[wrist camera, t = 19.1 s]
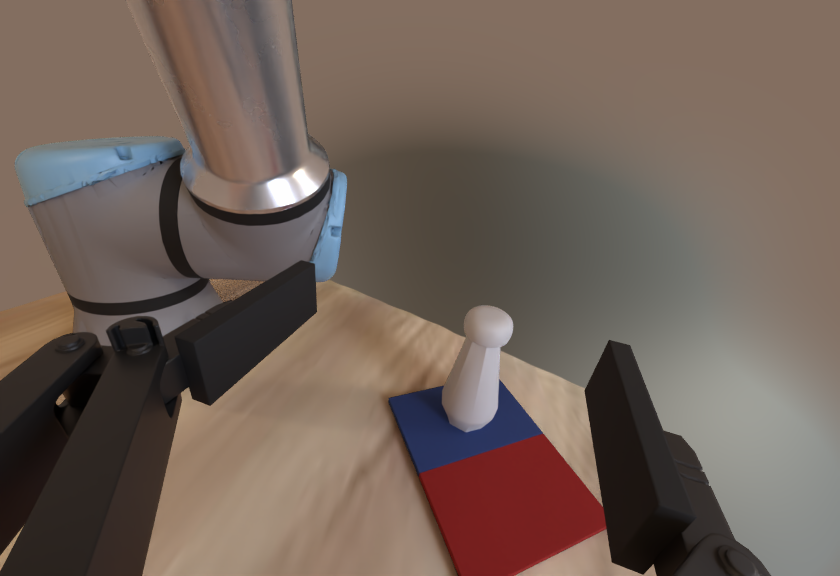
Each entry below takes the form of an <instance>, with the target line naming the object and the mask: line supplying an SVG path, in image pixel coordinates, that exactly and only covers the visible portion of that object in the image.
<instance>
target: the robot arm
mask: <svg viewBox="0 0 840 576" xmlns="http://www.w3.org/2000/svg"><path fill="white" fill-rule="evenodd" d="M126 2H127V5H128V7H129V9H130V11H131V14H132V16H133V18H134V20H135V23H136V25H137V27H138V29H139V31H140V34H141V36H142V38H143V40H144V43H145V45H146V47H147V49H148V52H149V54H150V56H151V58H152V60H153V63H154V65H155V67H156V69H157V72H158V74H159V76H160V78H161V80H162V83H163V85H164V87H165V89H166V92H167V94H168V96H169V98H170V101H171V103H172V105H173V108H174V110H175V112H176V114H177V117H178V119H179V121H180V123H181V125H182V128H183V130H184V132H185V134H186V137H187V139H188V141H189V143H190V146H189V147H188V148H187V149H186V151H185V149H184V148H183V146H182V144H181V143H180V141H179V140H177V139H175V138H173V137H172V138H168V137H160V136H154V137H153V136H149V137H148V136H145V137H122V138H121V137H119V138H103V139H90V140H78V141H68V142H59V143H51V144H45V145H40V146H35V147H31V148H28V149H26V150H24V151H23V152H21V153H20V154H19V155H18V157H17V159H16V160H15V170H16V173H17V176H18V179H19V182H20V185H21V187H22V190H23V193H24V196H25V200H24V204H25V205H26V207H28V210H29V212H30V214H31V216H32V218H33V220H34V222H35V224H36V227H37V229H38V231H39V233H40V235H41V238H42V240H43V242H44V244H45V246H46V248H47V250H48V253H49V255H50V257H51V259H52V261H53V263H54V265H55V267H56V270H57V272H58V274H59V276H60V278H61V281H62V283H63V285H64V287H65V289H66V291H67V293H68V295H69V298H70V300H71V302H72V305H73V307H74V323H73V333H70V334H66V335H63V336H61V337H58V338H56V339H53V340H52V341H50V342H49V343H47V344H45V345H44V346H43V347H42V348H40V349H39V350H38V351H37V352H35V353H34V354H33V355H32V356H31V357H29V358H28V359H27V360H26V361H24V362H23V363H22V364H21V365H19V366H18V367H17V368H16V369H14V370H13V371H12V372H11V373H9V374H8V375H7V376H6V377H4V378H3V379H2V380H1V381H0V555H1V554H2V553H3V551H4V550H5V549H6V547H7V546H8V545H9V544H10V542H11V541H12V540H13V538H14V537H15V536H16V535H17V533H18V532H19V531H20V529H21V528H22V527H23V526H24V527H23V529H22V531H21V533H20V534H19V536H18V538H17V540H16V542H15V544H14V546H13V548H12V550H11V552H10V554H9V556H8V558H7V560H6V562H5V563H4V565H3V567H2V569H1V571H0V576H142V574H143V569H144V565H145V560H146V556H147V552H148V547H149V543H150V538H151V534H152V530H153V525H154V521H155V517H156V512H157V508H158V503H159V499H160V495H161V490H162V486H163V481H164V477H165V473H166V468H167V464H168V459H169V455H170V451H171V446H172V442H173V438H174V433H175V429H176V424H177V420H178V416H179V411H180V407H181V402H182V397H181V392H183V391H184V390H185V389H186V388H188V387H189V389H190V392H191V396H192V399H194V400H197V401H199V402H202V403H204V404H207V405H209V406H211V405H212V404H213V403H214V402H215V401H216V400H217V399H218V398H220V397H221V396H222V395H223V394H224V393H225V392H226V391H228V390H229V389H230V388H231V387H232V386H233V385H234V384H236V383H237V382H238V381H239V380H240V379H241V378H242V377H244V376H245V375H246V374H247V373H248V372H249V371H250V370H252V369H253V368H254V367H255V366H256V365H257V364H258V363H259V362H261V361H262V360H263V359H264V358H265V357H266V356H267V355H269V354H270V353H271V352H272V351H273V350H274V349H275V348H277V347H278V346H279V345H280V344H281V343H282V342H283V341H285V340H286V339H287V338H288V337H289V336H290V335H291V334H293V333H294V332H295V331H296V330H297V329H298V328H299V327H300V326H302V325H303V324H304V323H305V322H306V321H307V320H308V319H310V318H311V317H312V316H313V315H314V314H315V313H316V312H317V301H316V282H324V281H327V280H329V279H330V278H331V277H332V276H333V275H334V274H335V272H336V268H337V263H338V257H339V249H340V241H341V230H342V224H343V218H344V209H345V200H346V189H347V177H346V175H345V174H344V173H342V172H339V171H337V170H336V169H330V165H329V160H328V156H327V153H326V151H325V149H324V148H323V147H322V145H321V144H320V143H319V142H318V141H317V140H316V139H315V138H313V137H312V136H310V135H309V134H308V132H307V123H306V115H305V107H304V98H303V90H302V82H301V74H300V65H299V58H298V49H297V41H296V33H295V24H294V16H293V8H292V0H126ZM209 279H232V280H250V281H265V282H264V283H262V284H260V285H259V286H257V287H256V288H254V289H252V290H251V291H249V292H247V293H246V294H244V295H242V296H241V297H239V298H237V299H236V300H234V301H232V300H230V301H227V302H224V303H223V301H222V300H221V298H220V297H219V295H218V294H217V292H216V291H215V289H214V288H213V286H212V285H211V283H210V280H209ZM62 393H63V395H64V397H65V400H64V401H63V402H62V403H61V404H60V405H59V406H58V405H57V404H56V403H55V402H56V401H57V399H58V398H59V396H60V395H61V394H62ZM585 396H586V403H587V409H588V415H589V421H590V428H591V434H592V440H593V447H594V453H595V459H596V465H597V472H598V478H599V484H600V490H601V497H602V503H603V509H604V515H605V522H606V528H607V534H608V541H609V547H610V553H611V559H612V563H615V564H617V565H620V566H622V567H625V568H627V569H630V570H633V571H635V572H638V573H640V574H644V573H645V572H646V571H647V570H648V569H649V568H650V567H651V566H652V565H653V564H654V567H655V571H656V575H657V576H771V575H770V574H769V572H768V571H767V569H766V568H765V567H764V565H763V564H762V562H761V561H760V560H759V559H758V558H757V557H756V556H755V555H753V554H752V552H751V551H749V549H747V548H746V547H744V546H743V545H741V544H740V543H739V542H737V541H736V540H735V538H734V536H733V534H732V532H731V530H730V528H729V525H728V523H727V521H726V519H725V517H724V515H723V512H722V510H721V508H720V506H719V503H718V501H717V499H716V497H715V495H714V493H713V490H712V488H711V486H709V482H708V480H707V477H706V475H705V473H704V472H702V467H701V464H700V462H699V460H698V458H697V456H696V453H695V452H694V451H693V449H692V448H691V447H690V446H689V445H688V443H687V442H686V441H685V440H684V439H683V438H682V436H679V435H676V434H673V433H670V432H666V431H663V429H662V426H661V424H660V421H659V419H658V416H657V413H656V411H655V408H654V406H653V403H652V401H651V398H650V395H649V393H648V390H647V388H646V385H645V383H644V380H643V377H642V375H641V372H640V370H639V367H638V364H637V362H636V359H635V357H634V354H633V352H632V349H631V346H630V345H627V344H623V343H619V342H615V341H611V340H609V341H608V343H607V345H606V348H605V349H604V352H603V354H602V356H601V358H600V360H599V362H598V364H597V366H596V368H595V370H594V372H593V375H592V376H591V379H590V380H589V383H588V385H587V387H586V389H585ZM24 524H25V525H24Z"/></svg>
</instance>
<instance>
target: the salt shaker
mask: <svg viewBox="0 0 840 576" xmlns="http://www.w3.org/2000/svg"><path fill="white" fill-rule="evenodd" d="M464 332H465V334H466V336H467V337H466V339H465V341H464V344H463V346H462V348H461V350H460V352H459V355H458V357H457V359H456V361H455V363H454V366H453V368H452V370H451V372H450V374H449V376H448V379H447V381H446V383H445V385H444V387H443V390H442V405H443V407H444V409H445V411H446V414H447V416H448V419H449V423H450V424H451V425H453V426H455V427H457V428H458V429H460V430H462V431H464V432H469V431H473V430H477V429H481V428H482V427H484V426H485V425H486V424H488V423H489V422H490V421H491V420H492V419H493V417H494V415H495V413H496V411H497V409H498V392H499V368H500V348H501V346H503V345H506V343H507V342H508V341H509V339H510V337H511V335H512V332H513V322H512V319H511V318H510V316H508V314H507V313H505V312H504V311H503V310H501V309H499V308H497V307H493V306H487V305H480V306H477V307H474V308H472V309H471V310H470V311H469V312H468V313H467V315H466V317H465V320H464Z"/></svg>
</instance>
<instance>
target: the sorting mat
mask: <svg viewBox="0 0 840 576" xmlns="http://www.w3.org/2000/svg"><path fill="white" fill-rule="evenodd" d="M443 387H444V386H440V387H436V388H431V389H427V390H422V391H418V392H413V393H409V394H404V395H400V396H395V397H391V398H389V400H388V402H389V405H390V407H391V410H392V412H393V415H394V417H395V420H396V422H397V425H398V427H399V429H400V432H401V434H402V437H403V439H404V442H405V444H406V447H407V449H408V452H409V454H410V457H411V459H412V462H413V464H414V467H415V469H416V472H417V474H418V476H419V479H420V482H421V484H422V486H423V489H424V491H425V494H426V496H427V499H428V501H429V504H430V506H431V509H432V511H433V514H434V516H435V519H436V521H437V524H438V526H439V529H440V531H441V534H442V536H443V539H444V541H445V544H446V546H447V549H448V551H449V553H450V556H451V558H452V561H453V563H454V566H455V568H456V571H457V573H458V576H514V575H516V574H518V573H520V572H522V571H524V570H526V569H528V568H530V567H532V566H534V565H536V564H538V563H540V562H542V561H544V560H546V559H548V558H550V557H552V556H554V555H556V554H558V553H560V552H562V551H564V550H566V549H568V548H570V547H572V546H574V545H576V544H578V543H580V542H582V541H583V540H585V539H587V538H589V537H591V536H593V535H595V534H597V533H599V532H601V531H603V530H605V529H607V528H606V522H605V515H604V509H603V507H602V506H601V504H600V503H599V502H598V501H597V499H596V498H595V497H594V496H593V495H592V493H591V492H590V491H589V490H588V488H587V487H586V486H585V485H584V483H583V482H582V481H581V480H580V478H579V477H578V476H577V475H576V473H575V472H574V471H573V470H572V469H571V467H570V466H569V465H568V464H567V462H566V461H565V460H564V459H563V457H562V456H561V455H560V454H559V452H558V451H557V450H556V449H555V447H554V446H553V445H552V444H551V443H550V441H549V440H548V439H547V438H546V436H545V435H544V434H543V433H542V431H541V430H540V429H539V428H538V426H537V425H536V424H535V423H534V421H533V420H532V419H531V418H530V416H529V415H528V414H527V413H526V412H525V410H524V409H523V408H522V407H521V405H520V404H519V403H518V402H517V400H516V399H515V398H514V397H513V395H512V394H511V393H510V392H509V390H508V389H507V388H506V387H505V385H504V384H503V383H502V382H501V381H500V379H499V392H498V409H497V411H496V413H495V415H494V417H493V419H492V420H491V421H490V422H489V423H488V424H486V425H485V426H484V427H482V428H481V429H477V430H473V431H469V432H464V431H462V430H460V429H458V428H457V427H455V426H453V425H451V424H450V423H449V419H448V416H447V414H446V411H445V409H444V407H443V405H442V390H443Z"/></svg>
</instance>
